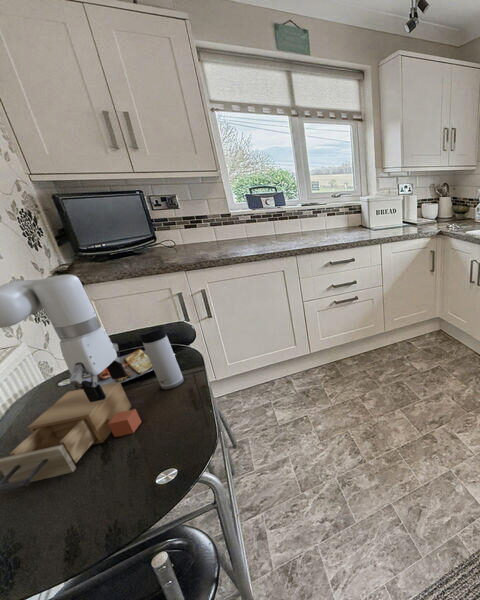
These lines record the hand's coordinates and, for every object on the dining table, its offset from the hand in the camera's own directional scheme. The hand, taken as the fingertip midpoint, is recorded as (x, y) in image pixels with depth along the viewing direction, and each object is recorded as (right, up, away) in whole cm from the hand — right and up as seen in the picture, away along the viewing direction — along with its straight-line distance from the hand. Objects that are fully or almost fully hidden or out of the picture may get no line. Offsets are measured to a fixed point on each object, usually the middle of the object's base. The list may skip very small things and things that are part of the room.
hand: (109, 388), depth 82 cm
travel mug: (0, -5, +24) cm, 24 cm away
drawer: (-7, -16, -7) cm, 19 cm away
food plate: (-23, -3, +33) cm, 41 cm away
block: (+1, -12, +5) cm, 13 cm away
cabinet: (-10, -13, +6) cm, 17 cm away
